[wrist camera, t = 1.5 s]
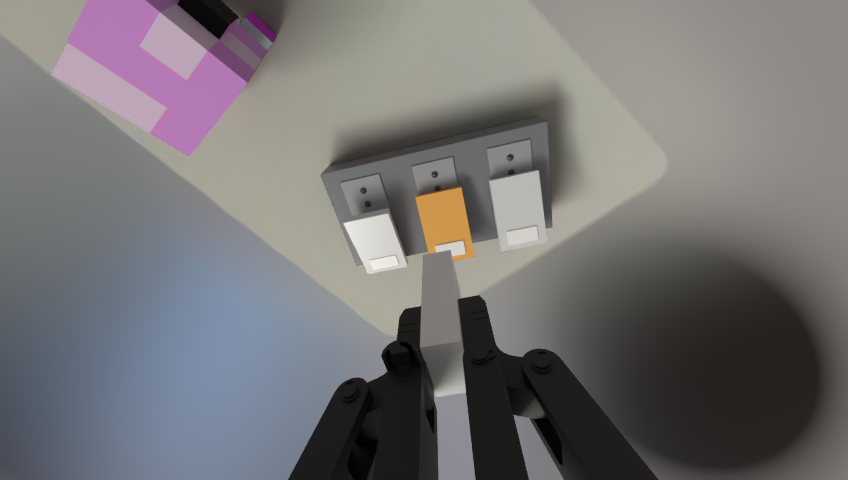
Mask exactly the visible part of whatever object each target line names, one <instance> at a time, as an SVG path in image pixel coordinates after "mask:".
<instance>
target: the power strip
mask: <svg viewBox="0 0 848 480" xmlns="http://www.w3.org/2000/svg"><path fill="white" fill-rule="evenodd" d="M531 170H539V177H540V186H541V194H542V202H543V211H544V219H545V228H546V229H547V228H552V208H551V187H550V166H549V144H548V123H547V121H545V120H543V119H541V118H539V117H537V116H536V117H532V118H528V119H524V120H520V121H515V122H511V123H507V124H503V125H499V126H494V127H490V128H486V129H482V130H477V131H473V132H469V133H465V134H461V135H456V136H452V137H448V138H444V139H440V140H435V141H431V142H427V143H423V144H418V145H414V146H410V147H406V148H402V149H397V150H393V151H389V152H385V153H381V154H376V155H372V156H368V157H364V158H359V159H355V160H351V161H347V162H343V163H338V164H334V165H330V166H328V167H327V168H326V169H325V170H324V172H323V173H322V174H321V178H322V180H323V183H324V185H325V188H326V190H327V193H328V195H329V198H330V200H331V203H332V205H333V208H334V210H335V213H336V215H337V218H338V220H339V223H340V225H341V228H342V230H343V233H344V235H345V238H346V240H347V243H348V245H349V248H350V250H351V253H352V255H353V258H354V260H355V263H356V265H357V266H358V265H363V263H362V261H361V259H360V257H359V254H358V252H357V250H356V248H355V246H354V244H353V242H352V240H351V238H350V236H349V234H348V232H347V230H346V228H345V226H344V224H343V221H344V218H345V217H350V216H354V215H359V214H363V213H368V212H373V211H377V210H382V209H387V208H389V210H390V213H391V216H392V219H393V221H394V224H395V227H396V230H397V232H398V235H399V238H400V241H401V243H402V246H403V249H404V252H405V254H406V256H409V255H414V254H419V253H424V252H428V249H427V245H426V241H425V236H424V232H423V228H422V224H421V220H420V215H419V211H418V207H417V203H416V198H415V197H416V196H417V195H421V194H426V193H430V192H435V191H439V190H444V189H449V188H453V187H458V186H461V188H462V193H463V198H464V203H465V209H466V214H467V219H468V224H469V229H470V235H471V240H472V243H475V242H480V241H486V240H491V239H496V238H498V234H497V228H496V222H495V216H494V210H493V204H492V198H491V192H490V185H489V180H490V179H494V178H499V177H504V176H508V175H513V174H517V173H522V172H526V171H531Z"/></svg>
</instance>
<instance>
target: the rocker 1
mask: <svg viewBox="0 0 848 480" xmlns="http://www.w3.org/2000/svg"><path fill="white" fill-rule="evenodd" d="M343 224H344V226H345V228H346V230H347V232H348V234H349V236H350V238H351V240H352V242H353V244H354V246H355V248H356V250H357V252H358V254H359V257H360V259H361V261H362V263H363V265H364V267H365V269H366V271H367V273H368V274H371V273H376V272H382V271H387V270H392V269H397V268H402V267H408V260H407V257H406V254H405V252H404V249H403V246H402V243H401V241H400V238H399V235H398V232H397V230H396V227H395V224H394V221H393V219H392V216H391V213H390V210H389V208H387V209H382V210H377V211H373V212H368V213H363V214H359V215H354V216H350V217H345V218H344V221H343Z"/></svg>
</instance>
